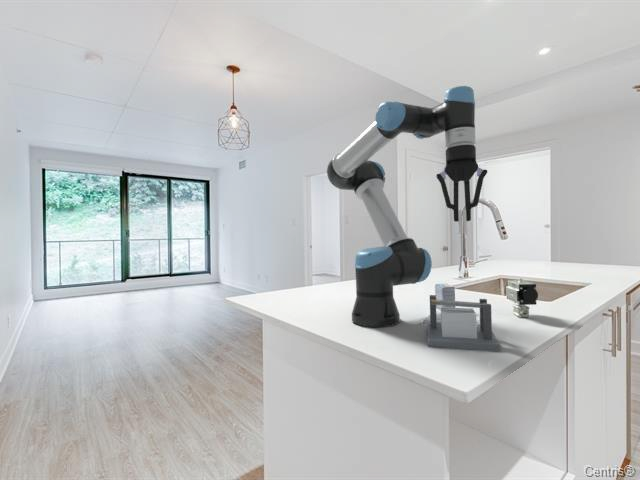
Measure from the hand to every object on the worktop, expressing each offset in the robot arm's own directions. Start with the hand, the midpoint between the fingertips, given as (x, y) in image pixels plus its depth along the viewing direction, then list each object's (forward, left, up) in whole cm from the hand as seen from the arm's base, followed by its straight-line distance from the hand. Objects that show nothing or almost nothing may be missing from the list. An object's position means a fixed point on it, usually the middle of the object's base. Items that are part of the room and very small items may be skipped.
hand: (462, 233), depth 92 cm
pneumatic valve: (+18, +21, -28) cm, 39 cm away
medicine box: (-4, +27, -28) cm, 39 cm away
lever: (-2, -6, -19) cm, 20 cm away
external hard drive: (-6, +13, -28) cm, 31 cm away
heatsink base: (-2, -6, -27) cm, 28 cm away
